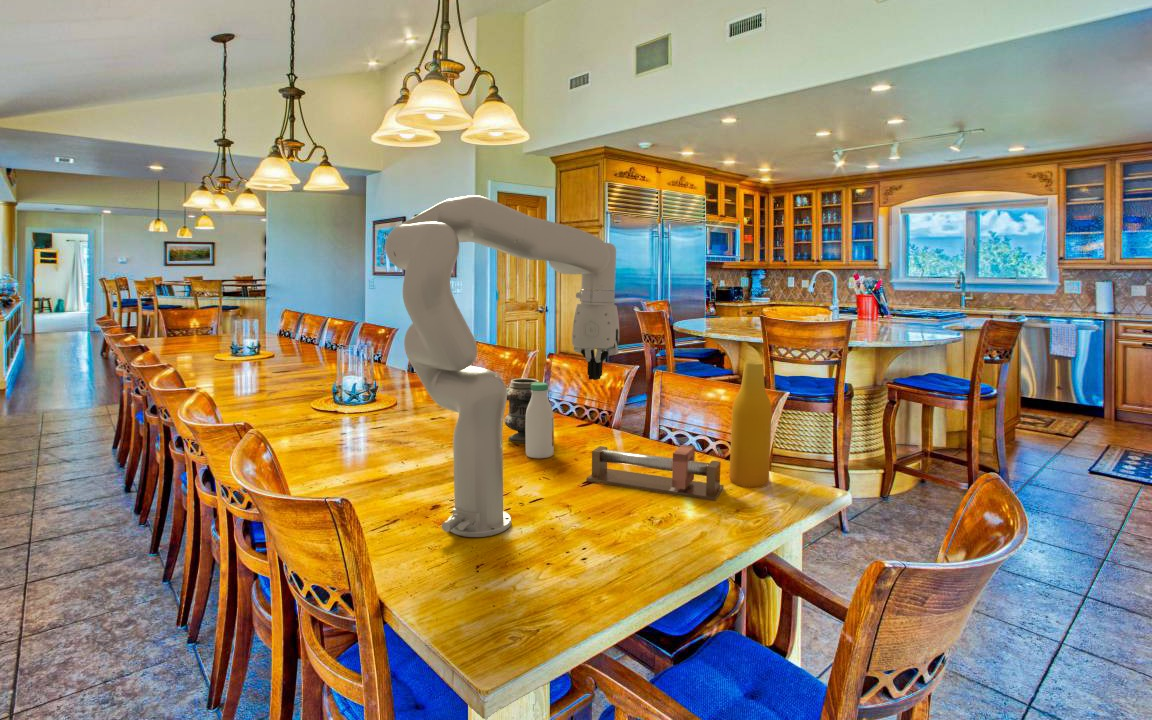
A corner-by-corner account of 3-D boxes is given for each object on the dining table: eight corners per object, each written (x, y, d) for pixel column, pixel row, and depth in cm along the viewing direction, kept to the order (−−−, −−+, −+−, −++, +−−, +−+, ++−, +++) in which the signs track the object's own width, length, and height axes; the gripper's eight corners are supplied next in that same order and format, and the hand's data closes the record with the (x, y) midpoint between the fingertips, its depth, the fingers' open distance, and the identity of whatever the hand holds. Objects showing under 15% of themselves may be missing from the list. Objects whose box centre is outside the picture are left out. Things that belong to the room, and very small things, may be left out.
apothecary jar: (552, 437, 192) (552, 379, 189) (529, 446, 182) (528, 385, 179) (520, 432, 198) (520, 375, 196) (496, 440, 188) (495, 381, 185)
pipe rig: (715, 501, 139) (716, 470, 138) (586, 481, 152) (586, 452, 151) (723, 488, 147) (724, 459, 146) (600, 470, 160) (601, 443, 159)
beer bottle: (741, 489, 146) (746, 366, 142) (722, 477, 155) (726, 360, 151) (776, 486, 149) (782, 365, 145) (755, 474, 157) (760, 359, 153)
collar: (685, 489, 142) (686, 454, 141) (672, 487, 143) (672, 453, 142) (693, 478, 149) (694, 446, 148) (681, 477, 150) (682, 444, 149)
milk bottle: (549, 460, 169) (549, 386, 166) (522, 458, 170) (521, 385, 167) (556, 452, 176) (556, 381, 173) (529, 450, 178) (529, 380, 175)
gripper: (560, 297, 141) (557, 378, 143) (622, 299, 135) (618, 384, 137) (575, 297, 148) (572, 374, 150) (634, 299, 141) (631, 380, 143)
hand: (594, 378), depth 143 cm, fingers closed
